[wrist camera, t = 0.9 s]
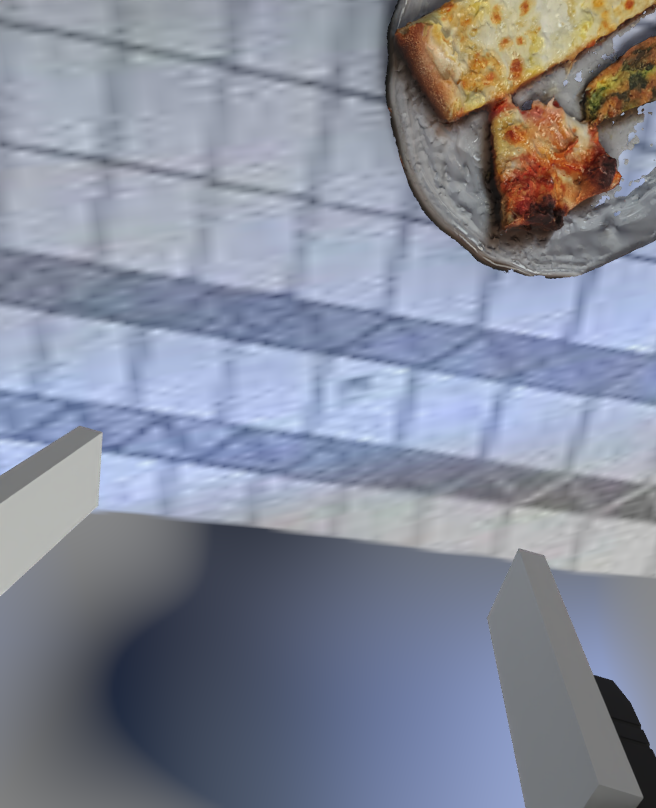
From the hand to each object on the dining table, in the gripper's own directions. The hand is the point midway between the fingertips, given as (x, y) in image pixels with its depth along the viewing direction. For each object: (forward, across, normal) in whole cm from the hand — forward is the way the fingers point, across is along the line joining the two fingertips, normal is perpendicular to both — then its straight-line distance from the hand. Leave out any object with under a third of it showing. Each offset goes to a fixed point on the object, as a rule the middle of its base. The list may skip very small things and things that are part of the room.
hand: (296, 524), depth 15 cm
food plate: (+27, +9, +20) cm, 34 cm away
